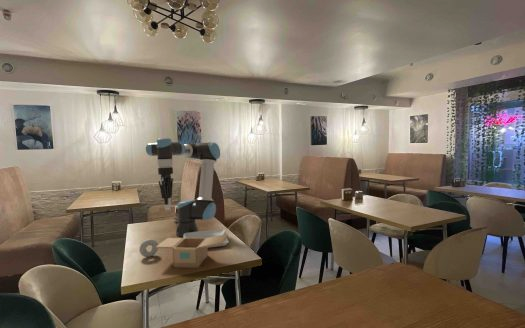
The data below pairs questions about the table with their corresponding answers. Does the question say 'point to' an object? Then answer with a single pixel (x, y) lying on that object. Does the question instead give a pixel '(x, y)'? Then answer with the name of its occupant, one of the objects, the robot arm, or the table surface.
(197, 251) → the carton
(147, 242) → the donut
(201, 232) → the square plate
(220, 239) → the flap
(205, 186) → the robot arm
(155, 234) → the table surface
